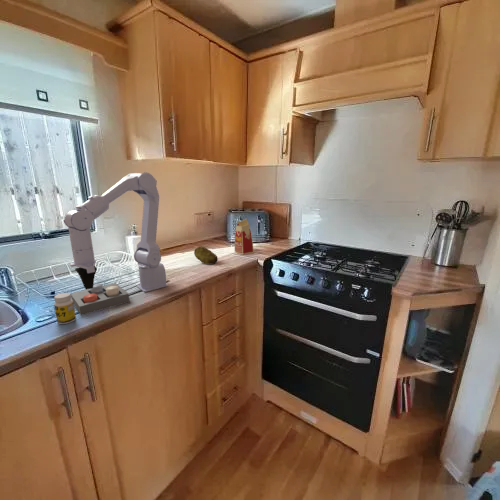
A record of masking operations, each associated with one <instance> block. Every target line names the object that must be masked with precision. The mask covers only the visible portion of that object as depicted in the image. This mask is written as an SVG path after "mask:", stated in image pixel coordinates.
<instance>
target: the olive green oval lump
mask: <svg viewBox="0 0 500 500" xmlns="http://www.w3.org/2000/svg"><path fill="white" fill-rule="evenodd" d="M193 254H194V256H195V258H196V259H197V260H198V261H199V262H201V264H204V265H205V264H206V265H215V264H216V263H217V262H218V259H219V258H218V256H217V255H216V253H214V252H213V251H212V250H210V249H209V248H207V247H205V246H199V247H198V246H197V247H196V248H195V249H194V250H193Z"/></svg>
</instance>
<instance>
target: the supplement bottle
mask: <svg viewBox="0 0 500 500" xmlns="http://www.w3.org/2000/svg"><path fill="white" fill-rule="evenodd" d="M53 307H54V310H55V317H56V322H57V323H58V324H59V325H67V324H70V323H71V324H72V323H73V322H74V321H75V320H76V319H77V318H76V310H75V305H74V304H73V300H72V299H71V294H70V292H61V293H59V294H56V295H54V303H53Z"/></svg>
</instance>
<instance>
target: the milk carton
mask: <svg viewBox="0 0 500 500" xmlns="http://www.w3.org/2000/svg"><path fill="white" fill-rule="evenodd" d="M250 227H251V226H250V223H249V221H248V218H245V219H243V220H239V221H237V222H236V227H235V234H234V235H235V236H234V252H235V253H236V254H238V255H247V254H249V255H250V254H254V241H253V236H252V231H251V228H250Z"/></svg>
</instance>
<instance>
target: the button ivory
mask: <svg viewBox="0 0 500 500" xmlns="http://www.w3.org/2000/svg"><path fill="white" fill-rule="evenodd" d="M106 295H107V297H111V296H115V295H119V288H118V286H110V287H107V288H106Z"/></svg>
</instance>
